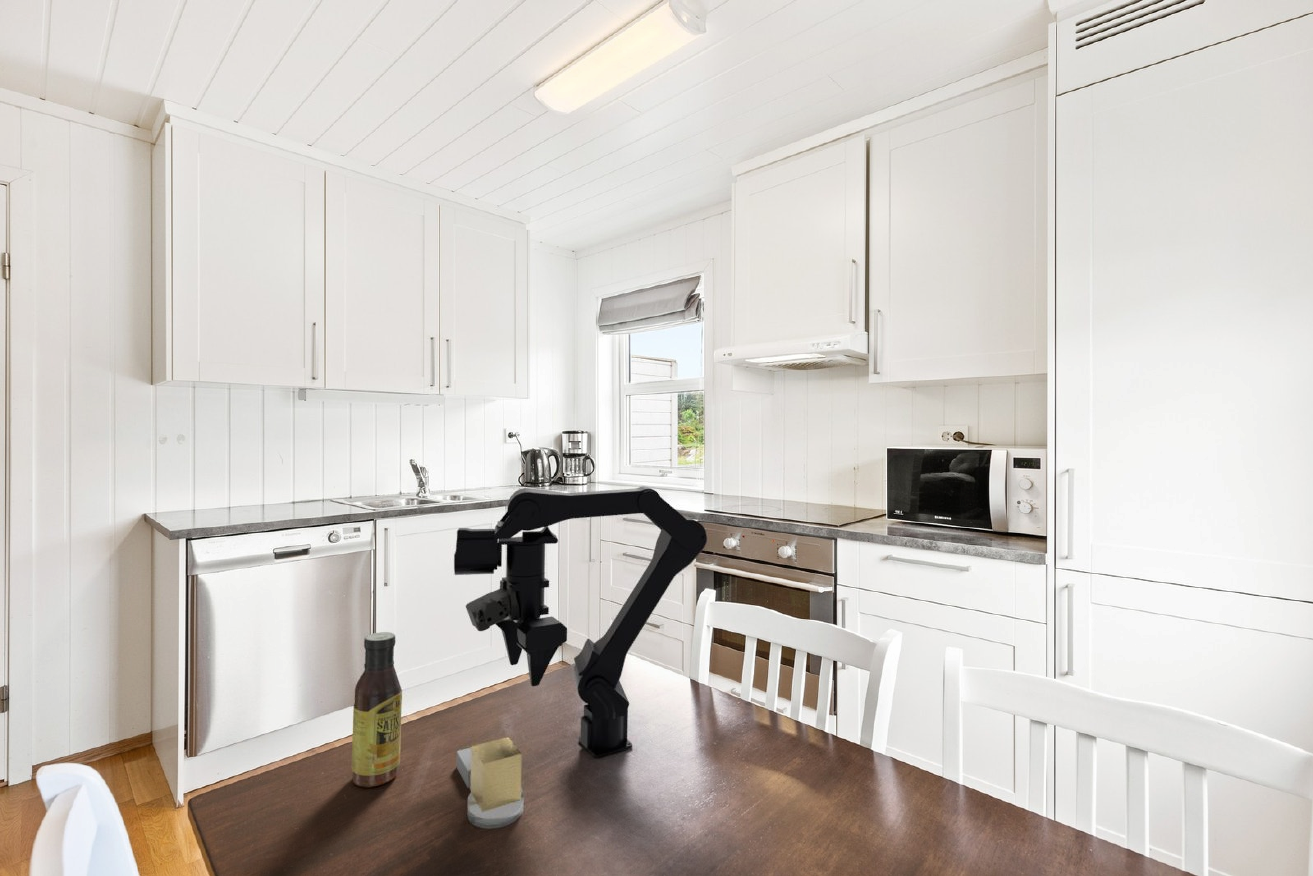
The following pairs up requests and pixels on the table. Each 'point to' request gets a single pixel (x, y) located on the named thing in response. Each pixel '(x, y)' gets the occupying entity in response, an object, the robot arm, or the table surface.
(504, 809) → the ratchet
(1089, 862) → the table surface
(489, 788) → the wooden toy block
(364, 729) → the sauce bottle
